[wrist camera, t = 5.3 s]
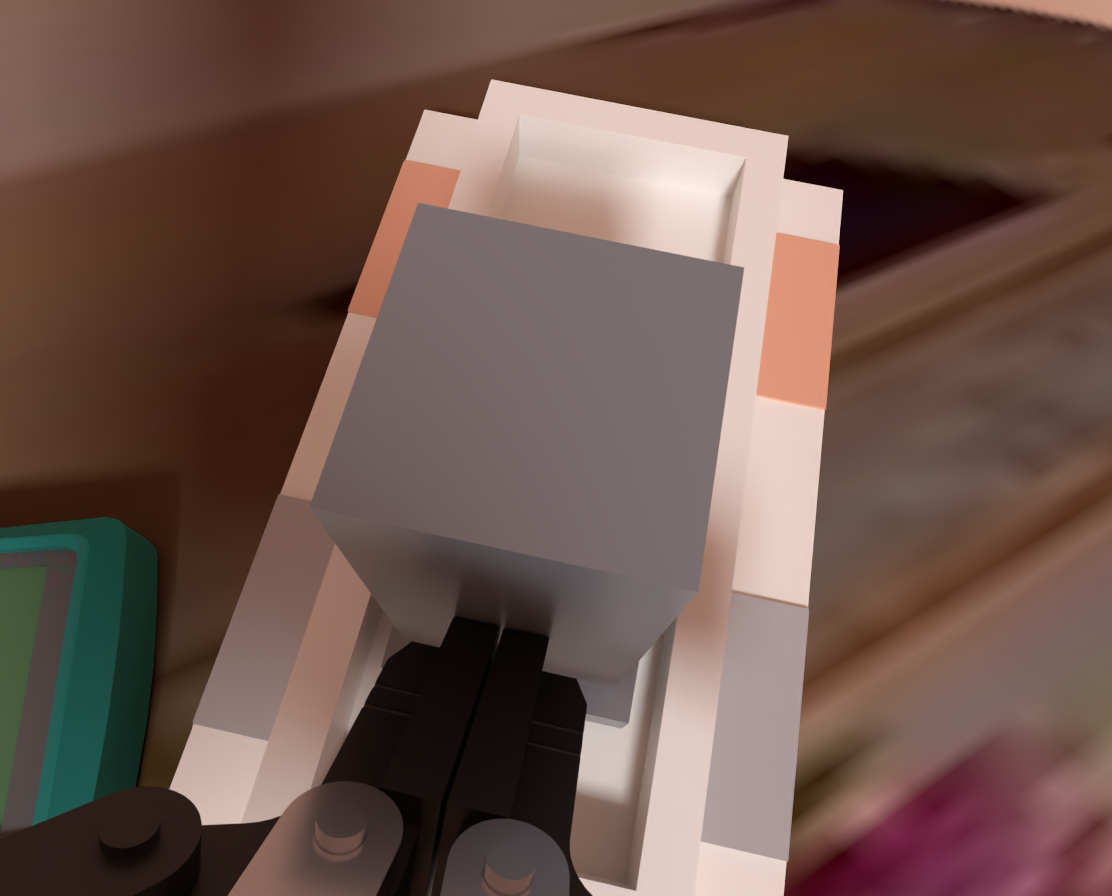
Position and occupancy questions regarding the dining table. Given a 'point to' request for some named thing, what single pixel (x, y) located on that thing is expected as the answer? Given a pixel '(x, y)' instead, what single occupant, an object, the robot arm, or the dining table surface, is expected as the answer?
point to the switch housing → (733, 528)
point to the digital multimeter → (72, 664)
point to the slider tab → (535, 442)
